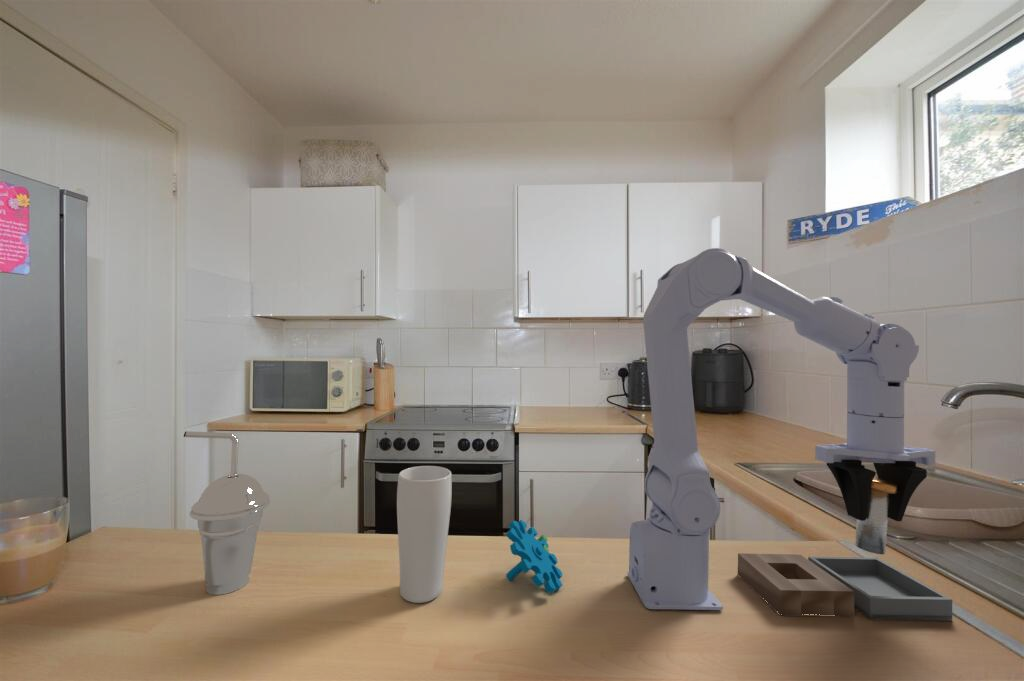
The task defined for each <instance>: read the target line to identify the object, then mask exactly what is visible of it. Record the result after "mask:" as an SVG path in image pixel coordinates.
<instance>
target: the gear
mask: <svg viewBox="0 0 1024 681" xmlns="http://www.w3.org/2000/svg"><path fill="white" fill-rule="evenodd" d="M508 527H509V530H508V531H507V532H506V537H507V539H509V540H510V541H511V542H512V543H511V544H510V545H509V547H510V552H511V554H512V555H513V556H517V557H520V561H519V562H518V563H517V564H515V566H513V568H511V569H510V570H508V572H507V573H506V574H505V575H506V578H507V580H508V581H510V582H511V581H512V580H513V579H515V578H516V577H517V576H519V575H520V573H522V572H523V573H524V574H526V573H527V572H529V571H533V572H534V576H532V578H531V581H532V582H533V584H534V585H535V586H536V587H537V588H540V587H541V586H542V585H543V588H544V590H545V592H546V593H548V594H551V595H552V594H553V593H554V592H555V591H558V590H559V589H561V587H563V586H564V585H563V583H562V581H561V580H560V579H562V577H563V571H562V570H561V568H559V567H558V566H556V564H558V558H557V556H556V554H554V553H550V552H549V547H550V546H549V544H548V540H549V539H548V537H547V536H546V535H545V534H542V535H541V536H539V537H538V538H536V536H537V535H538V534H539V533H538V531H537V530H536V529H535V528H534V526H531V527H529V528H528V526H527V523H526V522H525V521H524V520H522V519H520V520H519V521H516V520H513V521H511V522H510V523H509V524H508ZM527 528H528V529H527Z"/></svg>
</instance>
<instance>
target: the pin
mask: <svg viewBox="0 0 1024 681" xmlns="http://www.w3.org/2000/svg"><path fill="white" fill-rule="evenodd" d="M889 493H892V494H895V493H897V484H896V483H894V482H891V481H888V480H884V479H880V478H878V477H877V476H876V477H875V476H874V478H873V481H872V483H871V487H870V490H869V495H868V510H867V517H866V520H865V521H861V520H858V519H856V526H855V528H856V529H855V531H856V532H855V542H854V543H855V544H854V545H855V546H856V547H857V548H859V549H861V550H863V551H865V552H868V553H872V554H875V555H886V551H887V550H886V548H887V533H888V522H889V521H888V520H889V519H888V506H889Z"/></svg>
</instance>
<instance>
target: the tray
mask: <svg viewBox="0 0 1024 681" xmlns="http://www.w3.org/2000/svg"><path fill="white" fill-rule="evenodd" d="M807 557H808V558H807V559H808V560H809V561H811V562H812V563H814V564H815V565H816V566H818V567H819V568H821V569H822V570H824V571H825V572H827V573H828V574H830V575H831V576H833V577H834V578H835V579H837V580H838V581H840V582H841V583H843V584H844V585H846V586H847V587H849V588H850V589H852V590H853V591H854V610H856V611H857V612H859V613H860V614H862V615H863V616H864V617H866V618H867V619H869V620H873V621H876V620H878V621H924V622H925V621H937V622H952V621H953V599H952V598H950V597H948V596H947V595H945V594H943V593H941V592H939V591H937V590H936V589H934V588H932V587H930V586H928V585H927V584H925V583H923V582H921V581H919V580H918V579H916V578H914V577H912V576H911V575H909V574H907V573H906V572H903V571H902V570H899V569H898V568H896V567H894V566H892V565H891V564H889V563H887V562H885V561H884V560H881V559H879V558H878V557H857V556H856V557H853V556H851V557H849V556H846V557H844V556H842V557H841V556H807Z"/></svg>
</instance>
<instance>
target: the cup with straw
mask: <svg viewBox="0 0 1024 681" xmlns="http://www.w3.org/2000/svg"><path fill="white" fill-rule="evenodd" d="M183 438H199V439H228V440H230V441H231V459H230V474H227V475H224V476H221V477H218V478H217V479H215V480H213V482H211V483H209V485H208V486H207V487H205V489H204V490H203V492H202V493H201V495H200V497H199V499H198V501H197V502H195V503H194V504H193V505H192V506H191V509H190V512H189V516H190V518H191V519H193V520H197V528H198V531H199V532H198V533H199V536H201V547H202V548H201V550H202V561H203V571H204V581H205V584H206V588H205V591H206V593H207V594H208V595H209V594H210V595H214V596H219V595H220V596H221V595H226V594H230V593H234V592H237V591H239V590H240V589H243V588H244V587H245V586H247V585H248V583H249V582H250V574H251V572H252V566H253V560H254V554H255V548H256V541H257V536H258V530H259V529H258V528H259V527H260V526H259V525H260V524H261V520H262V518H263V513H264V511H263V510H264V509H266V508H268V506H270V504H271V500H270V495H269V494H268V493H267V492H266V491H265V492H264V489H263V488H262V485H261V483H260V482H259V481H258V480H257V479H256V478H254V477H252V476H250V475H248V474H244V473H238V459H239V458H238V457H239V438H238V436H237V435H236V434H234V433H231V432H212V431H211V432H209V431H188V430H186V431H185V432H184V433H183Z"/></svg>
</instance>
